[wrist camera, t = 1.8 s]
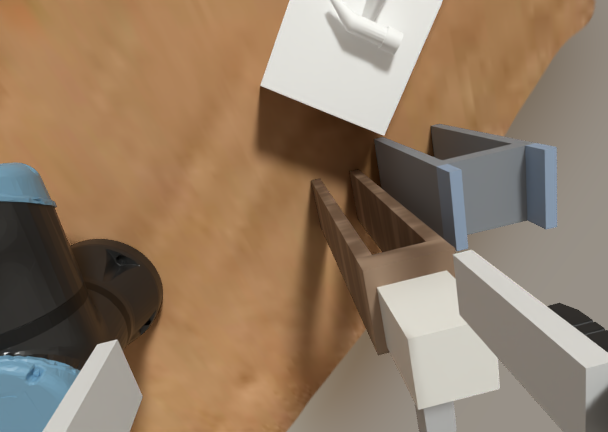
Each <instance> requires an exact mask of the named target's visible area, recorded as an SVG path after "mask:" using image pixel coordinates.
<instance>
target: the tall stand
mask: <svg viewBox="0 0 608 432" xmlns="http://www.w3.org/2000/svg"><path fill="white" fill-rule="evenodd" d="M349 172H350V177H351V183H352V189H353V194H354V200H355V205H356V211H357V217H358V220H359V221H360V223H361V224H362V225H363V227H364V228H365V229H366V231H367V232H368V233H369V235H370V236H371V237H372V239H373V240H374V241H375V243H376V244H377V245H378V247H379V248H380V249H381V250H382V253H378V254H374V255H372V254H371V253H370V251H369V250H368V248H367V247H366V245H365V244H364V242H363V241H362V239H361V238H360V237H359V235H358V234H357V232H356V231H355V229H354V228H353V226H352V225H351V223H350V222H349V220H348V219H347V217H346V216H345V215H344V213H343V212H342V210H341V209H340V207H339V206H338V204H337V203H336V201H335V200H334V198H333V197H332V195H331V194H330V193H329V191H328V190H327V188H326V187H325V185H324V184H323V182H322V181H321V179H320V178H319V179H315V180H311V182H312V187H313V192H314V197H315V201H316V206H317V211H318V216H319V220H320V225H321V229H322V231H323V233H324V236H325V238H326V240H327V242H328V245H329V247H330V249H331V251H332V254H333V256H334V258H335V260H336V262H337V265H338V267H339V269H340V271H341V274H342V276H343V278H344V280H345V283H346V285H347V287H348V289H349V291H350V294H351V296H352V298H353V300H354V303H355V305H356V307H357V309H358V312H359V314H360V316H361V318H362V320H363V323H364V325H365V327H366V329H367V332H368V334H369V336H370V338H371V341H372V343H373V345H374V347H375V349H376V352H377V354H378V355H381V354H384V353H389V350H388V348H387V344H386V338H385V332H384V326H383V321H382V315H381V309H380V303H379V297H378V291H377V287H381V286H385V285H389V284H393V283H397V282H401V281H405V280H409V279H413V278H417V277H421V276H425V275H430V274H434V273H438V272H442V271H446V270H447V271H448V272H449V273H450V274H451V275H452V276H453V277H454V278H455V269H454V260H453V254H456V252H455V248H454V247H453V246H452V245H450V244H449V243H448V242H447V241H446V240H444V239H443V238H442V237H441V236H439V235H438V234H437V233H436V232H435V231H433V230H432V229H431V228H430V227H428V226H427V225H426V224H425V223H423V222H422V221H421V220H420V219H419V218H417V217H416V216H415V215H414V214H412V213H411V212H410V211H409V210H407V209H406V208H405V207H404V206H403V205H401V204H400V203H399V202H398V201H396V200H395V199H394V198H393V197H391V196H390V195H389V194H388V193H387V192H385V191H384V190H383V189H382V188H380V187H379V186H378V185H377V184H376V183H374V182H373V181H372V180H371V179H369V178H368V177H367V176H366V175H364V174H363V173H362V172H361V171H360V170H358V169H357V170H353V171H349ZM455 279H456V278H455Z"/></svg>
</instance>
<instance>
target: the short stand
mask: <svg viewBox="0 0 608 432" xmlns="http://www.w3.org/2000/svg"><path fill="white" fill-rule="evenodd" d="M431 132H432V141H433V151H434V157H432V156H430V155H427V154H425V153H422V152H420V151H417V150H414V149H412V148H409V147H407V146H404V145H402V144H399V143H397V142H394V141H392V140H389V139H386V138H384V137H381V138H376V139H374V143H375V149H376V156H377V162H378V169H379V175H380V182H381V188H382V189H383V190H384V191H385V192H387V193H388V194H389V195H390V196H391V197H393V198H394V199H395V200H396V201H398V202H399V203H400V204H401V205H403V206H404V207H405V208H406V209H407V210H409V211H410V212H411V213H412V214H414V215H415V216H416V217H417V218H419V219H420V220H421V221H422V222H423V223H425V224H426V225H427V226H428V227H430V228H431V229H432V230H433V231H435V232H436V233H437V234H438V235H439V236H441V237H442V238H443V239H444V240H446V241H447V242H448V243H449V244H450V245H452V246H453V247H454V248H455V250H456V251H459V250H463V249H467V248H468V243H467V235H468V234H473V233H477V232H481V231H485V230H489V229H494V228H498V227H501V226H506V225H510V224H514V223H518V222H522V221H527V220H528V221H530V222H532V223H534V224H536V225H538V226H540V227H542V228H544V229H549V228H554V227H557V159H556V157H557V149H556V147H554V146H549V145H543V144H538V143H533V142H528V141H523V140H518V139H513V138H508V137H503V136H498V135H493V134H488V133H483V132H478V131H473V130H468V129H463V128H457V127H452V126H447V125H442V124H437V125H433V126H431Z"/></svg>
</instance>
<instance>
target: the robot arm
mask: <svg viewBox="0 0 608 432" xmlns="http://www.w3.org/2000/svg"><path fill="white" fill-rule="evenodd" d="M55 207H57V206H56V203H55V202H54V201H52V200H51V198H50V196H49V194H48V191H47V189H46V187H45V185H44V183H43V181H42V178H41V176H40V175H39V173H38V172H37V171H36V170H35V169H34V168H32V167H30V166H28V165H26V164H23V163H3V164H0V432H130V429H131V427H132V424H133V421H134V419H135V416H136V413H137V411H138V408H139V405H140V403H141V400H142V397H143V396H142V394H141V392H140V389H139V387H138V385H137V382H136V380H135V378H134V376H133V373H132V371H131V369H130V367H129V364H128V362H127V360H126V358H125V355H124V353H123V351H124V349H125V347H126V346H127V345H128V344H130V343H131V342H133V341H134V340H135V339H137V338H138V337H139V336H141V335H142V334H143V333H144V332H145V331H146V330H147V329H148V328H149V327H150V325H151V324H152V323H153V321H154V319H155V317H156V315H157V313H158V311H159V309H160V306H161V303H162V297H163V289H162V283H161V279H160V277H159V274H158V272H157V270H156V269H155V267H154V266H153V264H152V263H151V262H150V261H149V260H148V258H147V257H145V256H144V255H143V254H142V253H141V252H139V251H138V250H136V249H134V248H133V247H131V246H129V245H126V244H124V243H121V242H118V241H114V240H107V239H92V240H86V241H82V242H79V243H76V244H74V245H72V246H70V245H69V242H68V240H67V238H66V235H65V233H64V230H63V228H62V225H61V223H60V220H59V218H58V215H57V213H56V210H55ZM453 260H454V269H455V278H456V287H457V297H458V306H459V315H460V316H461V317H462V318H463V319H464V320H465V322H466V323H467V324H468V325H469V326H470V327H471V328H472V329H473V331H474V332H475V333H476V334H477V335H478V336H479V337H480V338H481V340H482V341H483V342H484V343H485V344H486V345H487V346H488V348H489V349H490V350H491V351H492V352H493V353H494V354H495V355H496V357H497V358H498V359H499V360H500V361H501V362H502V363H503V364H504V366H505V367H506V368H507V369H508V370H509V371H510V372H511V373H512V375H513V376H514V377H515V378H516V379H517V380H518V381H519V382H520V383H521V385H522V386H523V387H524V388H525V389H526V390H527V391H528V392H529V394H530V395H531V396H532V397H533V398H534V399H535V401H536V402H537V403H538V404H539V405H540V406H541V407H542V408H543V410H544V411H545V412H546V413H547V414H548V415H549V416H550V417H551V419H552V420H553V421H554V422H555V423H556V424H557V425H558V426H559V428H560V429H561V430H562V431H563V432H608V331H607V330H605V329H604V328H603V327H602V326H601V325H599V324H598V323H596V322H593V321H592V319H590V318H589V317H588V316H586V315H585V314H583V313H582V312H580V311H579V310H577V309H574V308H572V307H569V306H566V305H563V304H561V303H557V304H553V305H550V306H545V305H544V304H543V303H542V302H540V301H539V300H538V299H536V298H535V297H534V296H532V295H531V294H530V293H528V292H527V291H526V290H524V289H523V288H522V287H520V286H519V285H518V284H516V283H515V282H514V281H512V280H511V279H510V278H509V277H507V276H506V275H505V274H503V273H502V272H500V271H499V270H498V269H497V268H495V267H494V266H493V265H491V264H490V263H489V262H487V261H486V260H485V259H484V258H482V257H481V256H480V255H478V254H477V253H476V252H474V251H473V250H469V251H465V252H461V253H457V254H453Z"/></svg>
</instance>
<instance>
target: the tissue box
mask: <svg viewBox="0 0 608 432" xmlns="http://www.w3.org/2000/svg"><path fill="white" fill-rule="evenodd" d="M442 1H443V0H289V3H288V6H287V9H286V12H285V15H284V18H283V21H282V24H281V27H280V30H279V32H278V35H277V38H276V41H275V44H274V47H273V50H272V53H271V56H270V59H269V62H268V64H267V67H266V70H265V73H264V76H263V79H262V82H261V85H260V86H261V87H264V88H266V89H269V90H271V91H274V92H276V93H279V94H281V95H283V96H286V97H288V98H291V99H293V100H296V101H298V102H301V103H303V104H306V105H308V106H311V107H313V108H316V109H318V110H320V111H323V112H325V113H328V114H330V115H333V116H335V117H338V118H340V119H343V120H345V121H348V122H350V123H353V124H355V125H357V126H360V127H362V128H365V129H367V130H370V131H373V132H375V133H378V134H381V135H383V136H384V135H385V132H386V130H387V128H388V125H389V123H390V121H391V119H392V116H393V114H394V112H395V109H396V107H397V105H398V102H399V100H400V98H401V96H402V93H403V91H404V89H405V86H406V84H407V82H408V79H409V77H410V75H411V73H412V70H413V68H414V66H415V63H416V61H417V59H418V56H419V54H420V52H421V50H422V47H423V45H424V43H425V40H426V38H427V36H428V33H429V31H430V29H431V27H432V24H433V22H434V20H435V17H436V15H437V13H438V10H439V8H440V6H441V3H442Z"/></svg>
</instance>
